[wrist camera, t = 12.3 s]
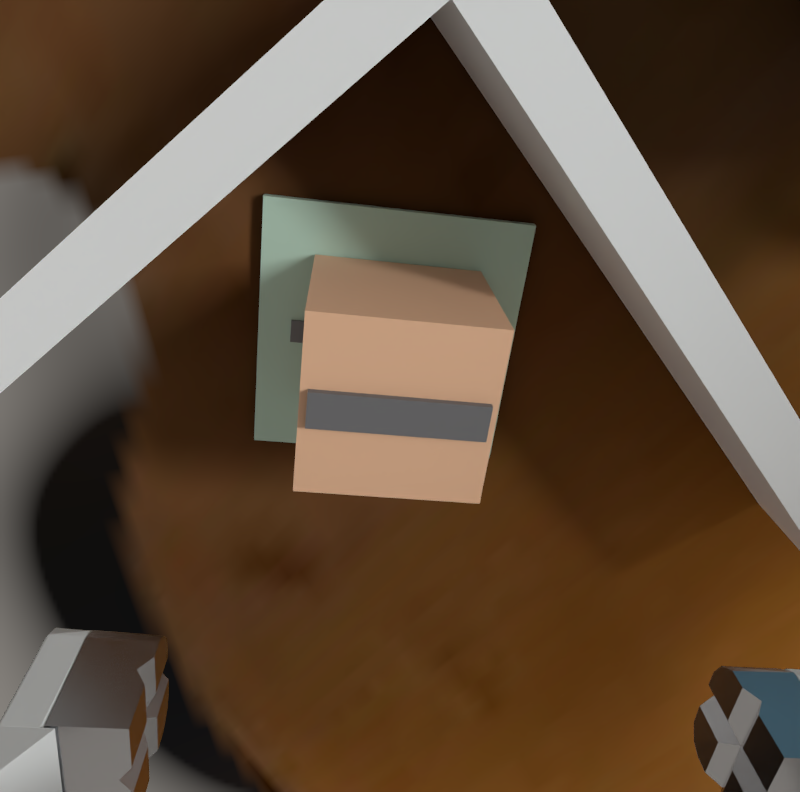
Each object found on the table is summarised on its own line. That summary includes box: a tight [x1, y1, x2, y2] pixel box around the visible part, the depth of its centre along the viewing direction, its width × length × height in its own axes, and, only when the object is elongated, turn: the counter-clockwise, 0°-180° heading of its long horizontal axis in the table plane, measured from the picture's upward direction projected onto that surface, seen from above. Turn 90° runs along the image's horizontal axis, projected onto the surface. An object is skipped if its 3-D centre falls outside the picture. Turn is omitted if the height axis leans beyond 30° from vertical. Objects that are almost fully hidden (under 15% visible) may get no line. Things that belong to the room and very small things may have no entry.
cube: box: [293, 254, 514, 504], centre depth 20 cm, size 5×5×5 cm
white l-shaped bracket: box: [0, 0, 800, 550], centre depth 22 cm, size 22×18×6 cm
